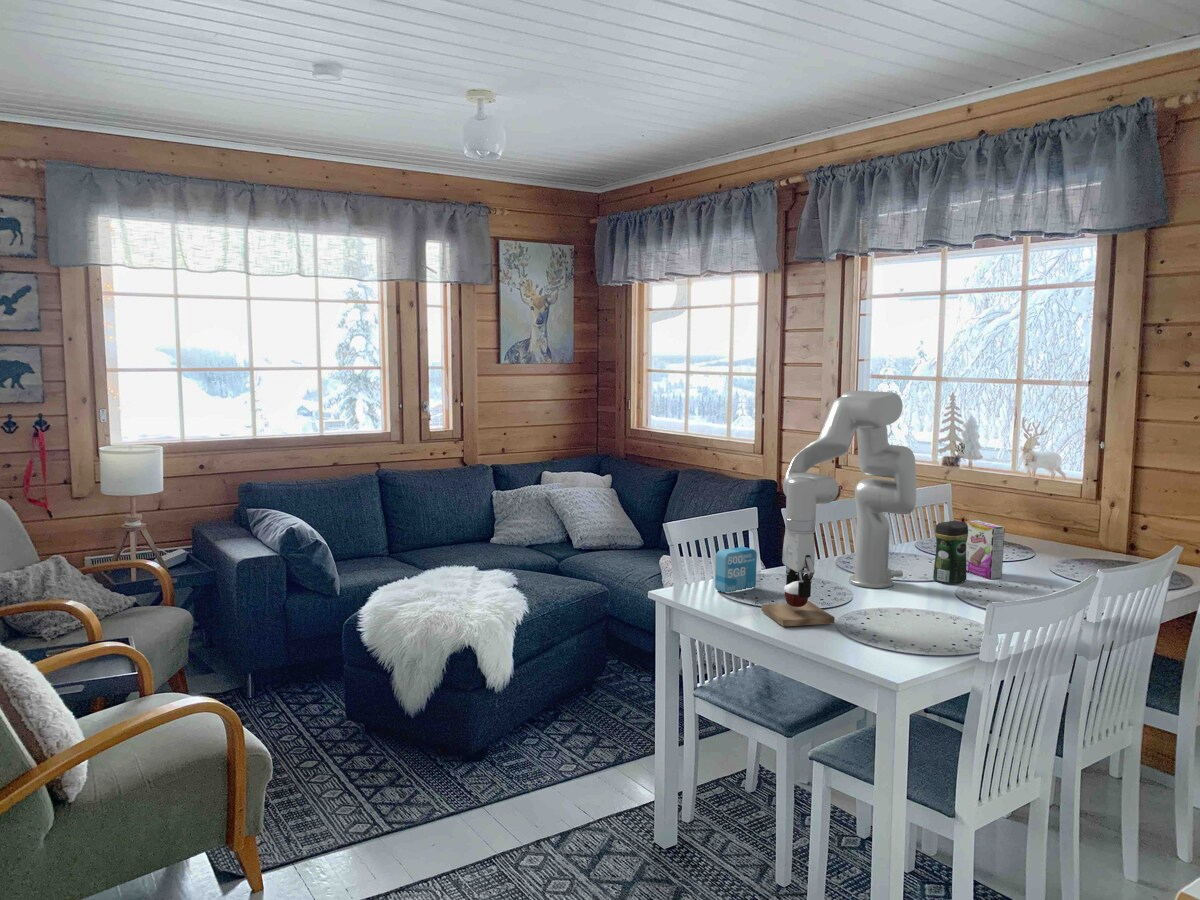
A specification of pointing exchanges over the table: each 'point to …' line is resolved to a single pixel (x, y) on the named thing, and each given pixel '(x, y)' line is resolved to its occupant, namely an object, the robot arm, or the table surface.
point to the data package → (735, 569)
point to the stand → (797, 614)
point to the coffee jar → (950, 552)
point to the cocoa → (794, 594)
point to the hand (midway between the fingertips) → (798, 592)
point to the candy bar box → (985, 549)
